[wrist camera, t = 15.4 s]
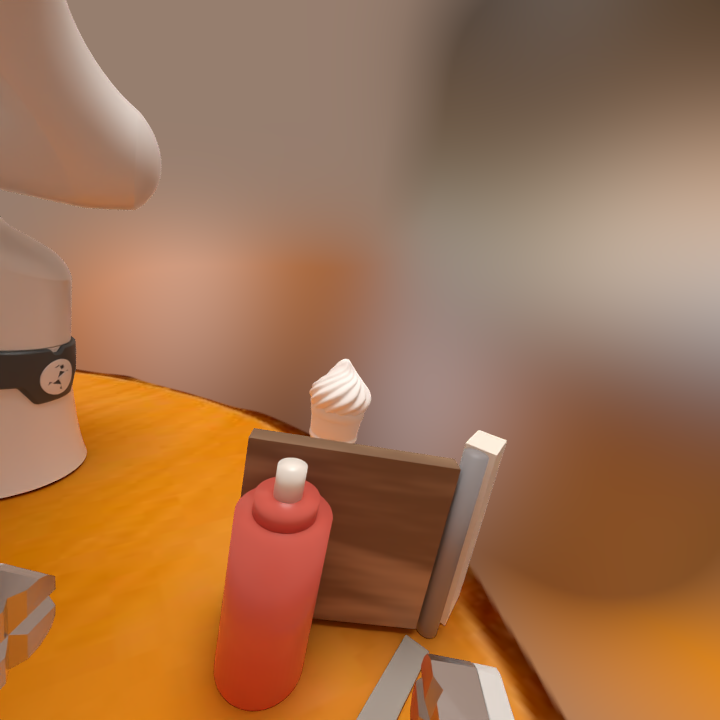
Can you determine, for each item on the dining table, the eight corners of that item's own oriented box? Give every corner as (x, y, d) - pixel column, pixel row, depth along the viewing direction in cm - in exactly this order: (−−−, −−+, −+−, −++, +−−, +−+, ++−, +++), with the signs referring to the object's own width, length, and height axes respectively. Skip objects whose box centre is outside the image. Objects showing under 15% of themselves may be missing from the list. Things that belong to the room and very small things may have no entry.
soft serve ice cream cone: (357, 490, 48) (382, 374, 44) (293, 481, 47) (314, 362, 43) (353, 458, 56) (374, 357, 52) (299, 450, 55) (316, 347, 51)
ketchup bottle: (231, 733, 21) (266, 506, 18) (202, 643, 26) (226, 448, 22) (318, 677, 25) (361, 482, 22) (280, 607, 29) (310, 436, 26)
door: (236, 576, 31) (258, 419, 28) (408, 596, 32) (448, 449, 29) (225, 609, 28) (248, 437, 25) (415, 629, 29) (460, 469, 26)
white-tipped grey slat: (256, 884, 16) (315, 592, 13) (435, 580, 35) (478, 430, 32) (296, 940, 15) (373, 637, 12) (459, 595, 34) (506, 440, 31)
